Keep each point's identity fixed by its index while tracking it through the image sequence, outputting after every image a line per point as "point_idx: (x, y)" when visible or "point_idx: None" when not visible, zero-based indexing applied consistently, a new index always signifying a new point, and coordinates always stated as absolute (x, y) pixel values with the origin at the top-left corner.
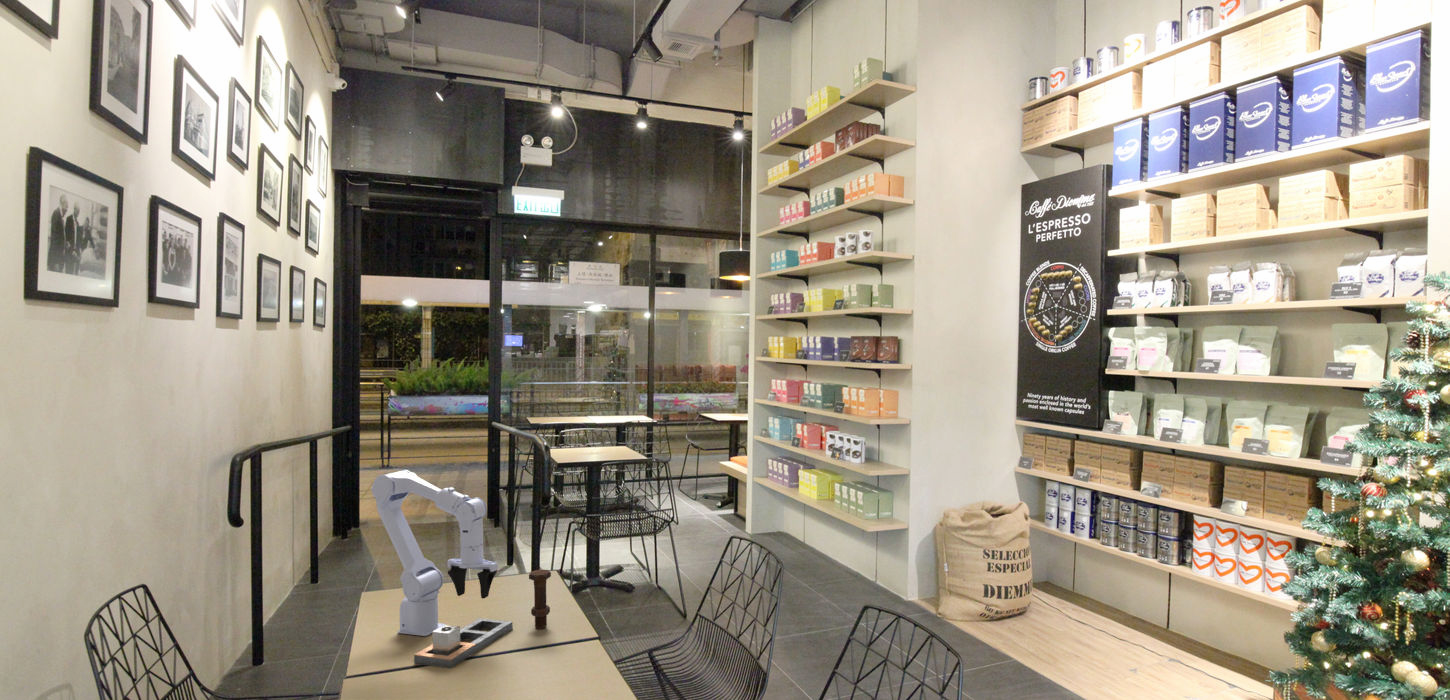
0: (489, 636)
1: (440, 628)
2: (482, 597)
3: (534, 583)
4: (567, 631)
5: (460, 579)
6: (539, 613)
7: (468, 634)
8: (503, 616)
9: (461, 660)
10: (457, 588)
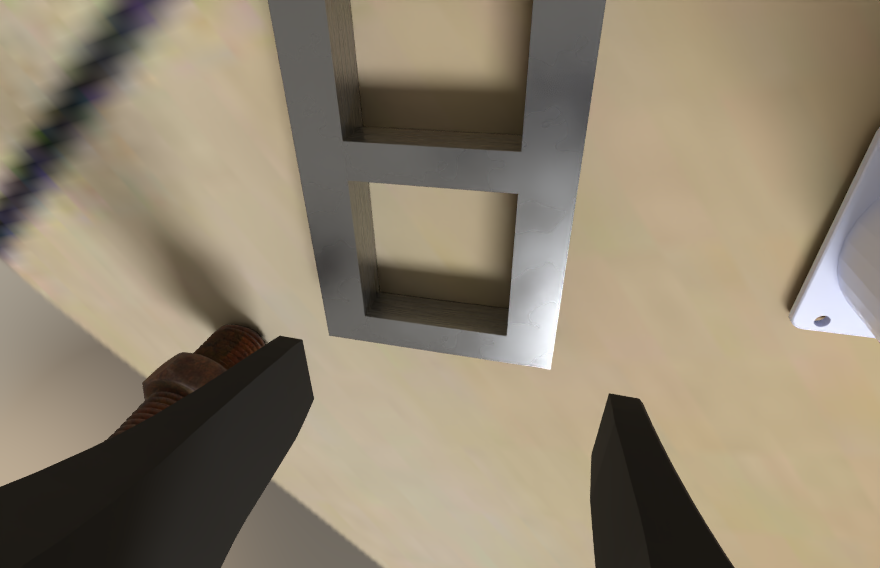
0: (291, 116)
1: None
2: (282, 342)
3: None
4: (117, 309)
5: None
6: (167, 364)
7: (479, 144)
8: (495, 439)
9: None
10: (635, 469)
